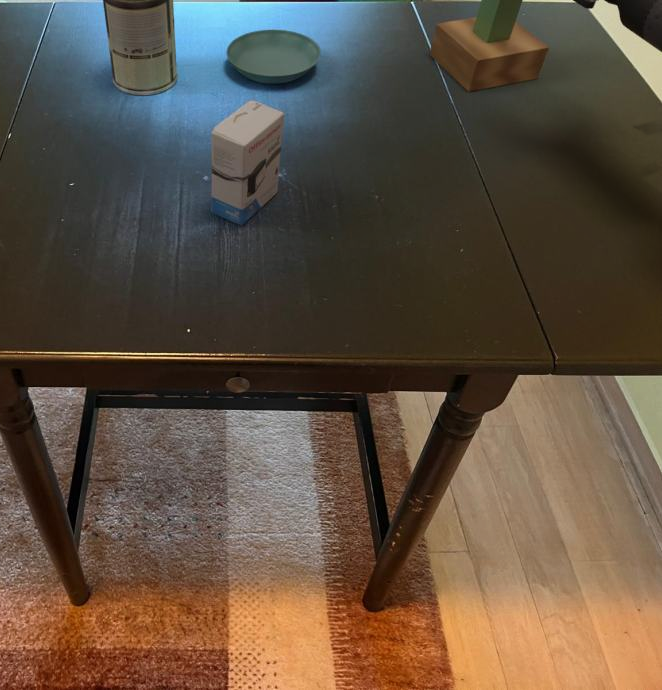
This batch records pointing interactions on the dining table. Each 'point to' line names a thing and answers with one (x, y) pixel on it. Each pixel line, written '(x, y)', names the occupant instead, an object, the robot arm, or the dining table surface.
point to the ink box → (246, 161)
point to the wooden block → (486, 55)
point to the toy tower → (496, 19)
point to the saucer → (273, 55)
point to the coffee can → (141, 45)
